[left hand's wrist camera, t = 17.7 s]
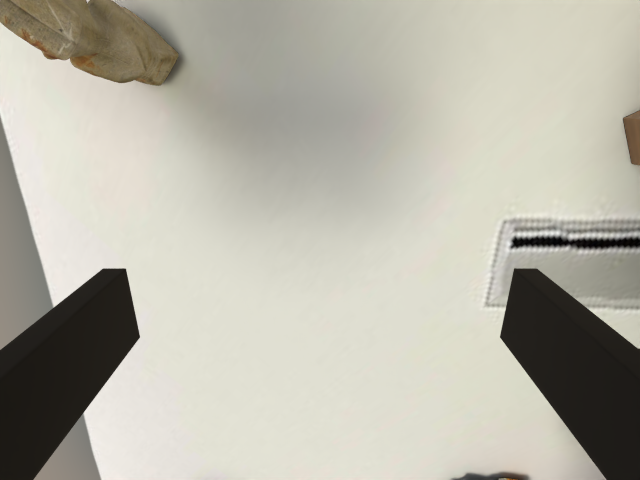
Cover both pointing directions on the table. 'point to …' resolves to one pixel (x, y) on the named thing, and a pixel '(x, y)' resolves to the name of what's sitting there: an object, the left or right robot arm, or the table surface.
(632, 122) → the bar
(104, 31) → the sculpture
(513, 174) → the table surface
